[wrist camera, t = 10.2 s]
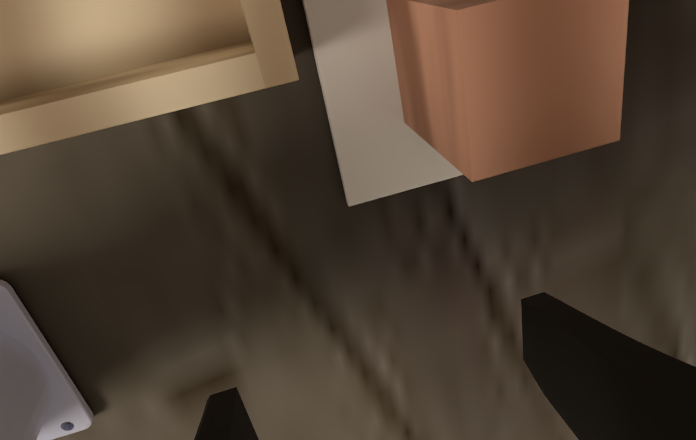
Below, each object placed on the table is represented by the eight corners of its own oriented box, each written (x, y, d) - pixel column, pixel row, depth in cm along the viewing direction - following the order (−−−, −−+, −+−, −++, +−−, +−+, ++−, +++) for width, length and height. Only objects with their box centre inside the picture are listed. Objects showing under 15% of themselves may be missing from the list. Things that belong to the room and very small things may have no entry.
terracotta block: (404, 122, 19) (472, 182, 14) (385, -5, 17) (457, 9, 12) (514, 93, 20) (619, 140, 14) (509, -34, 18) (631, -33, 12)
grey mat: (346, 202, 21) (348, 206, 20) (284, -77, 16) (286, -78, 15) (571, 140, 22) (577, 143, 21) (577, -141, 17) (584, -143, 16)
